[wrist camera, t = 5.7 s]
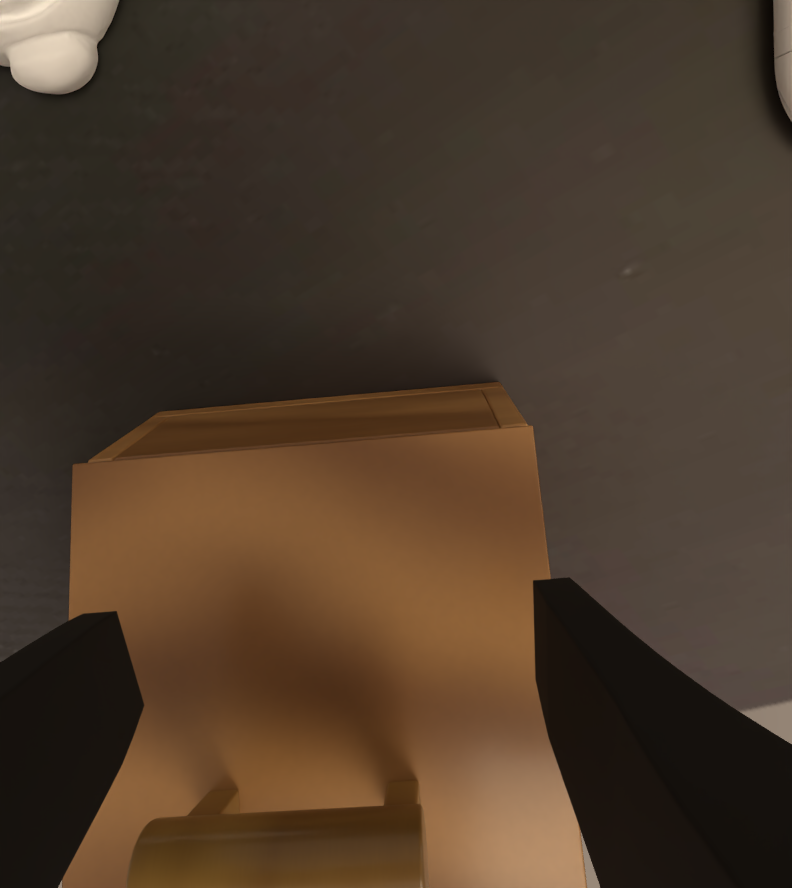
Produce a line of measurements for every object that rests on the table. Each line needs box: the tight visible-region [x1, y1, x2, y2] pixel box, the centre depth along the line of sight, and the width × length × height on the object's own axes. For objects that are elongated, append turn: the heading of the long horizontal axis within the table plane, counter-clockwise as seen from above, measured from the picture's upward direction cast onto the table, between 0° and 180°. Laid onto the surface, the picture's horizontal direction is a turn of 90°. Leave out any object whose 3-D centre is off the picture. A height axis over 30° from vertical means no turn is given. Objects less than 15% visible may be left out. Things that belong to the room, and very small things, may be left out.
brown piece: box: [62, 425, 587, 888], centre depth 12 cm, size 12×11×4 cm
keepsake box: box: [88, 382, 528, 463], centre depth 19 cm, size 11×11×5 cm
